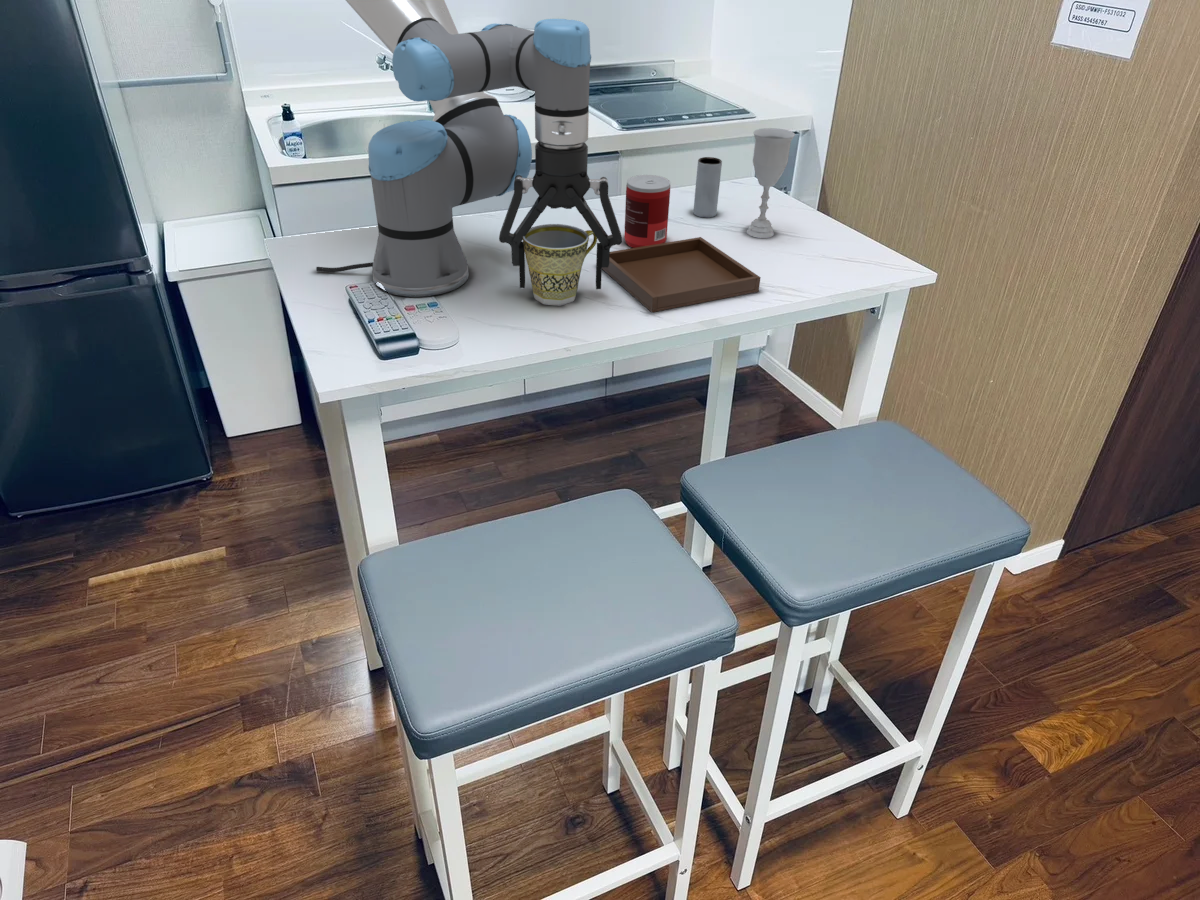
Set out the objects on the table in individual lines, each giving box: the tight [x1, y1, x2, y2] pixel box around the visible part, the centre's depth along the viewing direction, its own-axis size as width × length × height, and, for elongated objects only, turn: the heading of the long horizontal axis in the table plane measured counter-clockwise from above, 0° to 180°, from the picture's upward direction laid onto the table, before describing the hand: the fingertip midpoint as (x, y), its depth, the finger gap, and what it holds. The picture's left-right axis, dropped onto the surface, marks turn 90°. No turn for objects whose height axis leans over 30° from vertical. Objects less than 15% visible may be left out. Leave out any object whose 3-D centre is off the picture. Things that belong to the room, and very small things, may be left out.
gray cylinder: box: [692, 156, 723, 218], centre depth 161 cm, size 4×4×10 cm
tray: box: [602, 236, 761, 313], centre depth 138 cm, size 20×19×2 cm
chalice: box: [746, 127, 796, 239], centre depth 151 cm, size 7×7×18 cm
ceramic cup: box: [522, 223, 598, 307], centre depth 130 cm, size 13×10×10 cm
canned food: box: [623, 174, 671, 248], centre depth 148 cm, size 8×8×11 cm
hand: (560, 285), depth 132 cm, fingers open, 11 cm apart
